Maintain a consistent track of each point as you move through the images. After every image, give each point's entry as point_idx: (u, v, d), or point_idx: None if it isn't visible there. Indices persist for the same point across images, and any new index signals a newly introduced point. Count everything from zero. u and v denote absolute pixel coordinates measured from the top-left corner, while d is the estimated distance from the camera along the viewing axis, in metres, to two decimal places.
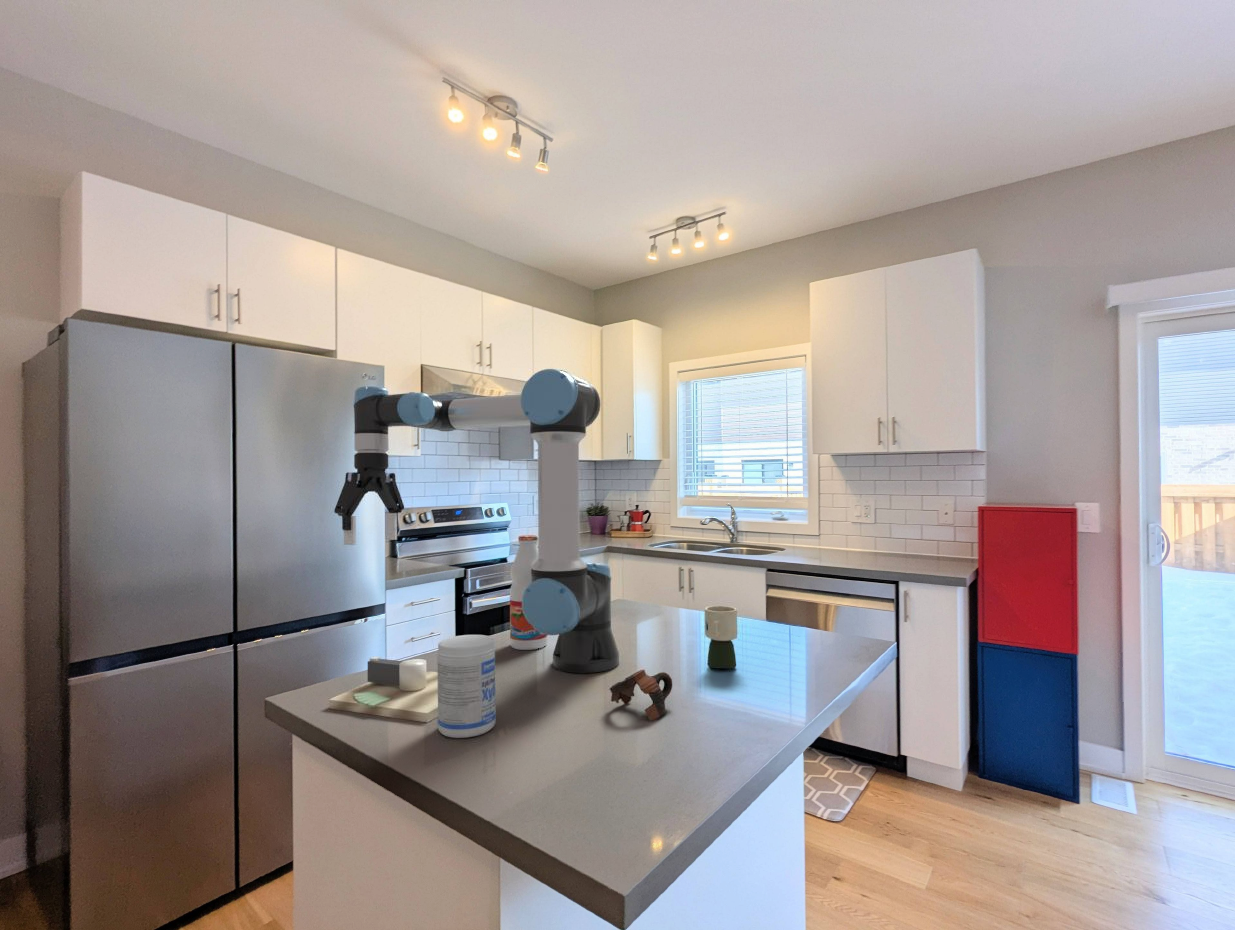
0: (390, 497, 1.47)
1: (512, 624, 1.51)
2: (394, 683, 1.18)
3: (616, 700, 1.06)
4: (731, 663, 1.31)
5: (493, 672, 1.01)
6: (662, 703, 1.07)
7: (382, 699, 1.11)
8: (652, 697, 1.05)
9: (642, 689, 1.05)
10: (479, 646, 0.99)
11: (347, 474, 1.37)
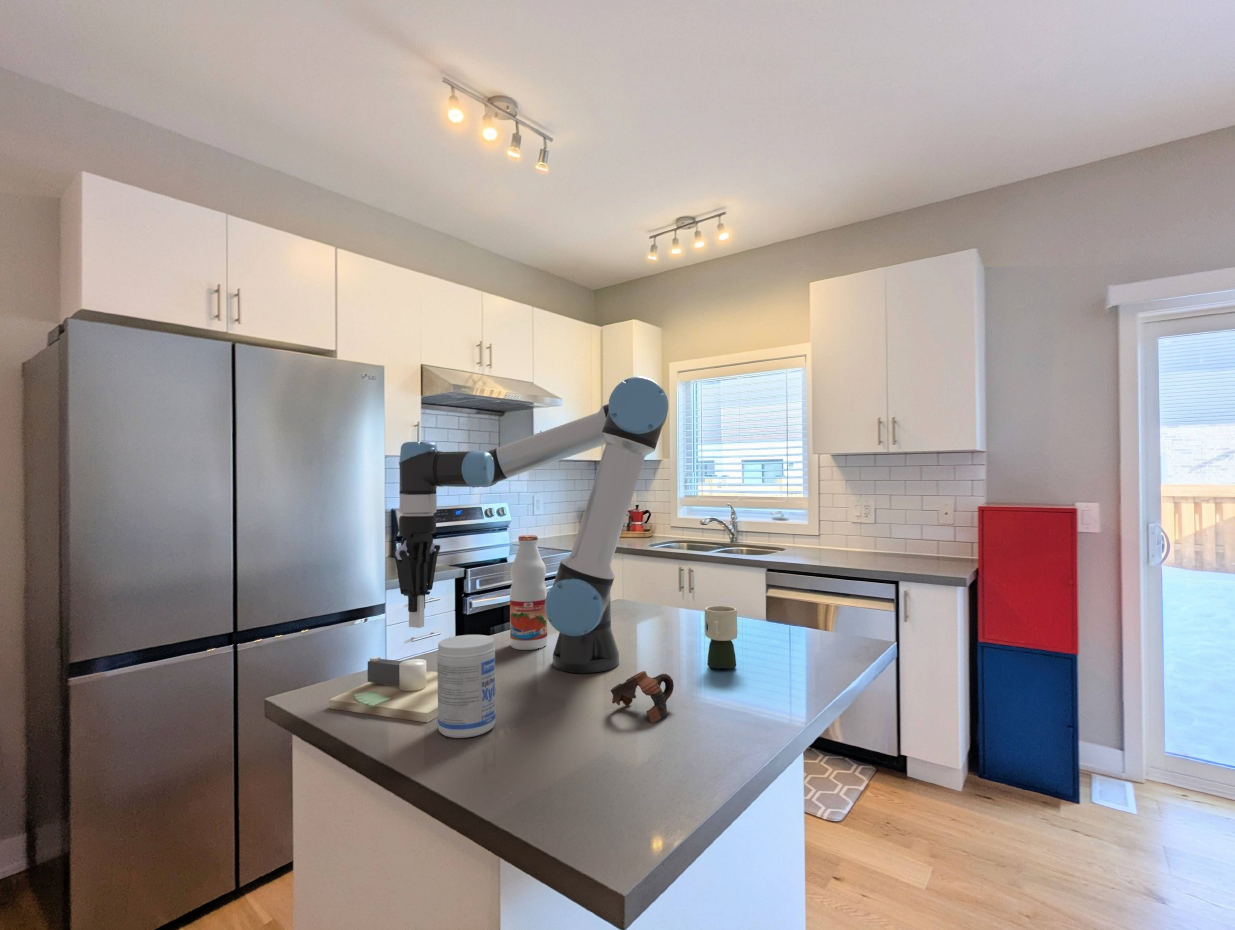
0: (425, 572, 1.28)
1: (512, 624, 1.51)
2: (394, 683, 1.18)
3: (617, 702, 1.05)
4: (731, 663, 1.31)
5: (493, 672, 1.01)
6: (664, 705, 1.06)
7: (382, 699, 1.11)
8: (654, 699, 1.04)
9: (644, 691, 1.04)
10: (479, 646, 0.99)
11: (394, 554, 1.22)
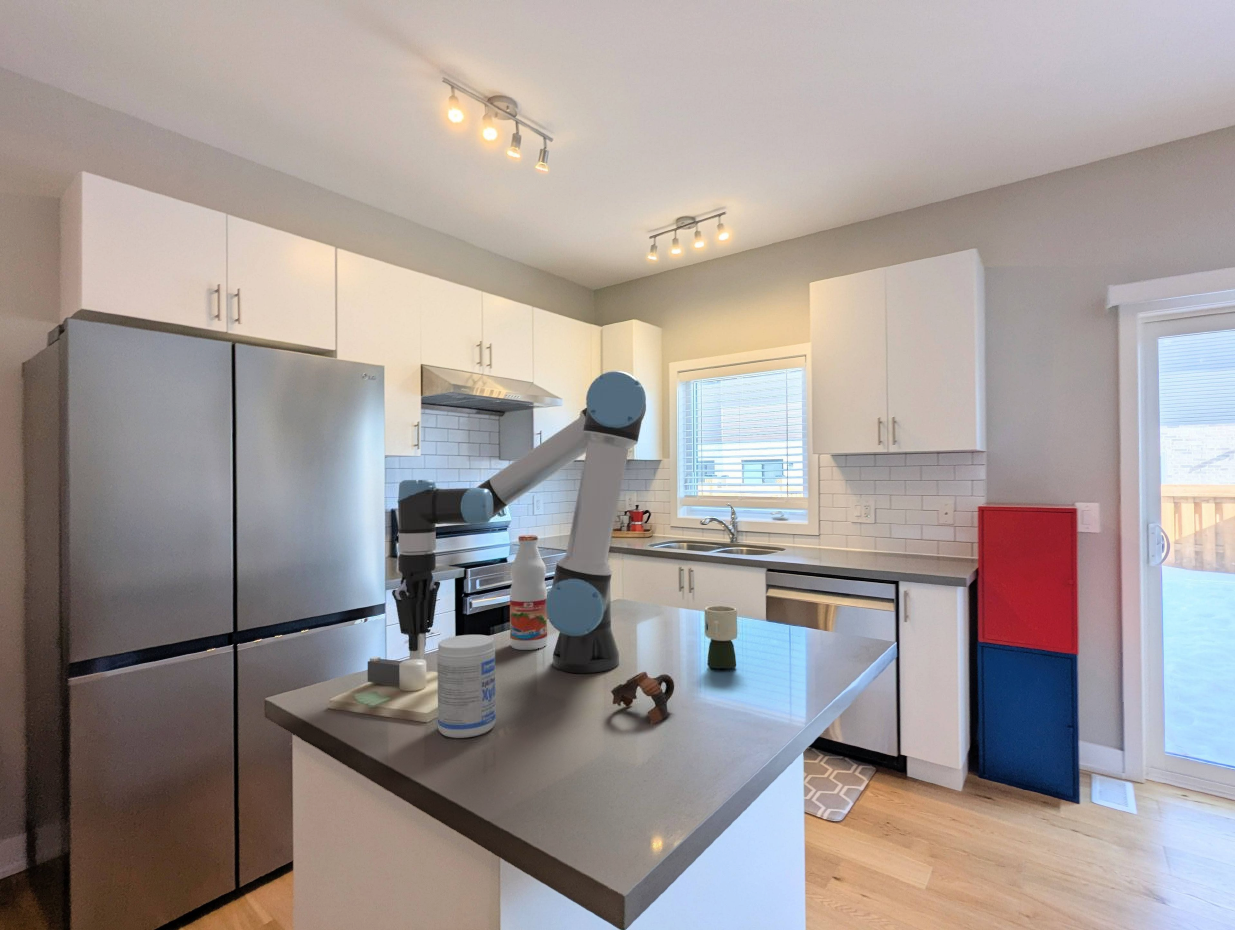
0: (426, 609, 1.28)
1: (512, 624, 1.51)
2: (394, 683, 1.18)
3: (618, 703, 1.04)
4: (731, 663, 1.31)
5: (493, 672, 1.01)
6: (664, 705, 1.05)
7: (382, 699, 1.11)
8: (654, 699, 1.04)
9: (644, 691, 1.04)
10: (479, 646, 0.99)
11: (394, 594, 1.22)
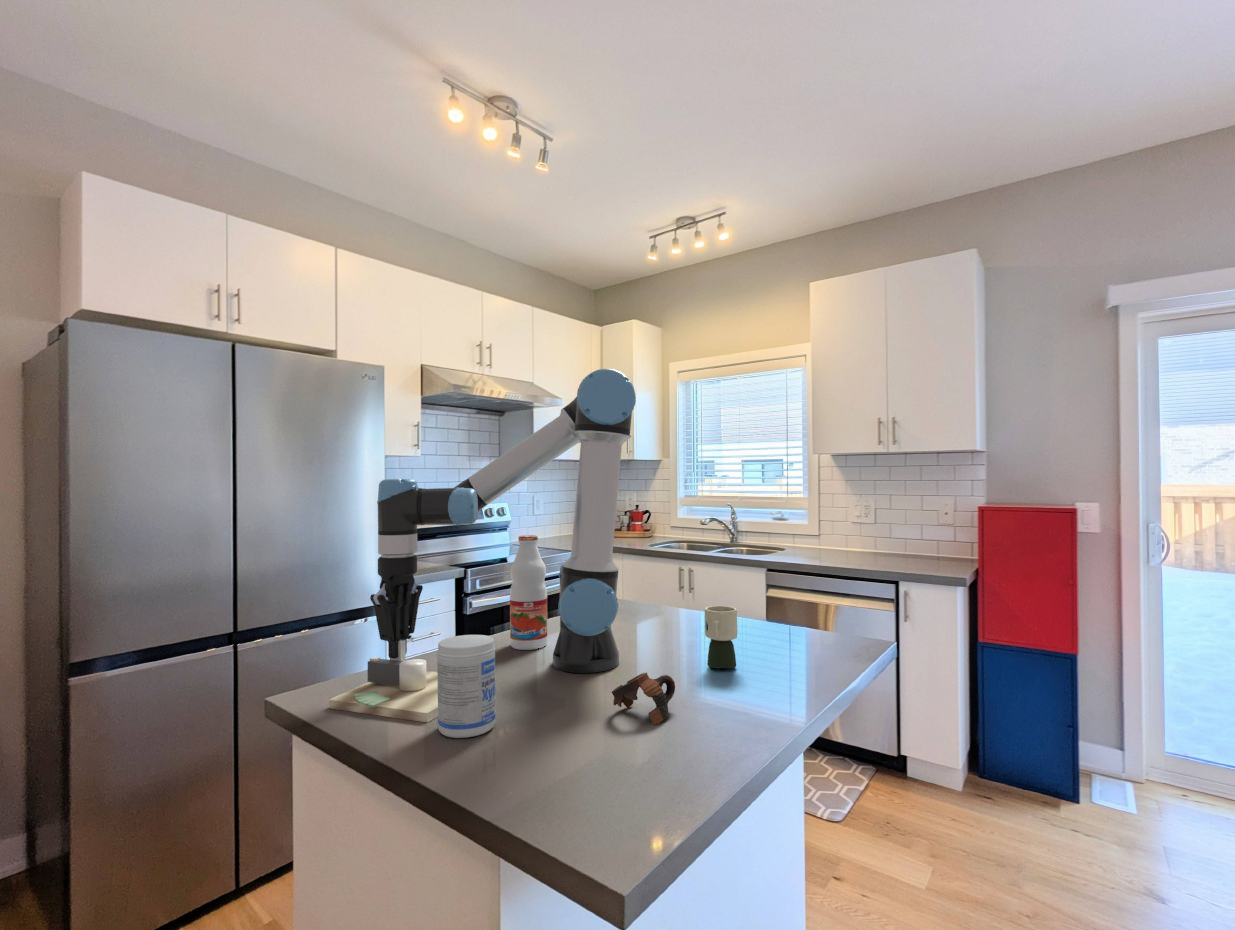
0: (407, 615, 1.22)
1: (512, 624, 1.51)
2: (394, 683, 1.18)
3: (619, 704, 1.04)
4: (731, 663, 1.31)
5: (493, 672, 1.01)
6: (665, 706, 1.05)
7: (382, 699, 1.11)
8: (655, 700, 1.03)
9: (645, 692, 1.03)
10: (479, 646, 0.99)
11: (372, 599, 1.16)
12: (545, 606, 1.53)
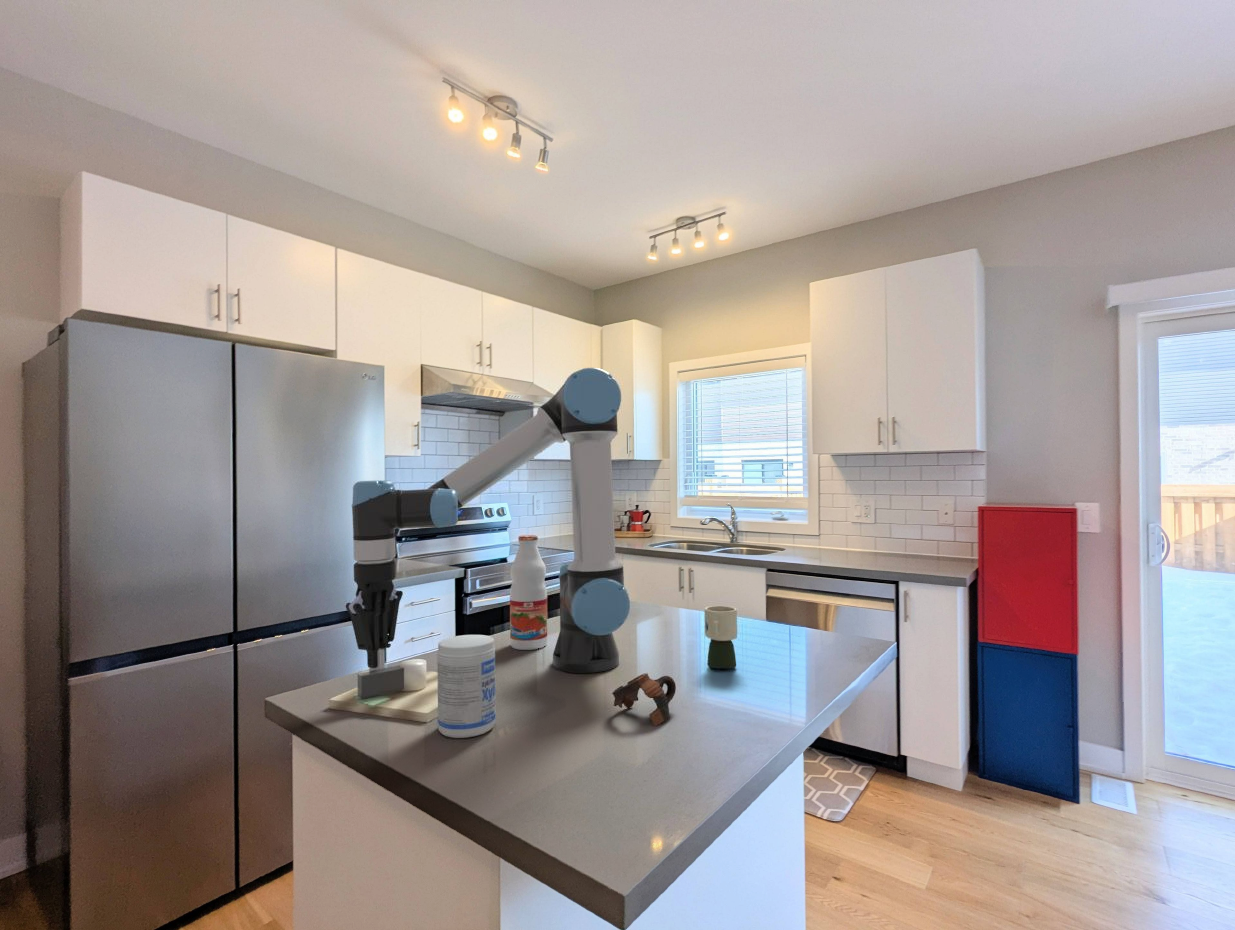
0: (385, 622, 1.17)
1: (512, 624, 1.51)
2: (397, 688, 1.15)
3: (619, 705, 1.03)
4: (731, 663, 1.31)
5: (493, 672, 1.01)
6: (666, 707, 1.05)
7: (382, 699, 1.11)
8: (656, 701, 1.03)
9: (646, 693, 1.03)
10: (479, 646, 0.99)
11: (348, 608, 1.11)
12: (545, 606, 1.53)
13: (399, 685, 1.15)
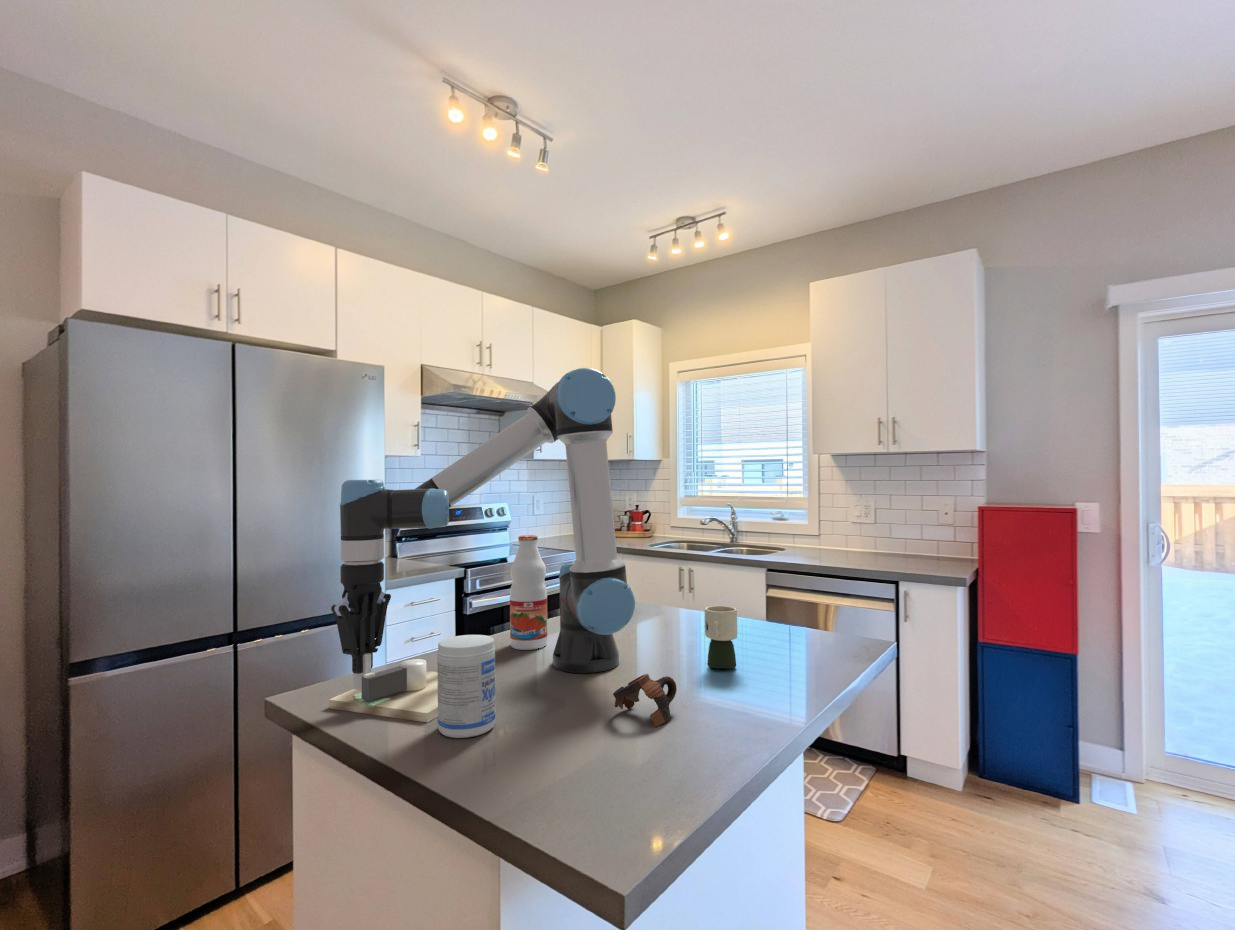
0: (372, 626, 1.13)
1: (512, 624, 1.51)
2: (401, 689, 1.14)
3: (620, 706, 1.03)
4: (731, 663, 1.31)
5: (493, 672, 1.01)
6: (667, 708, 1.04)
7: (382, 699, 1.11)
8: (657, 702, 1.03)
9: (647, 694, 1.03)
10: (479, 646, 0.99)
11: (333, 610, 1.07)
12: (545, 606, 1.53)
13: (402, 685, 1.15)
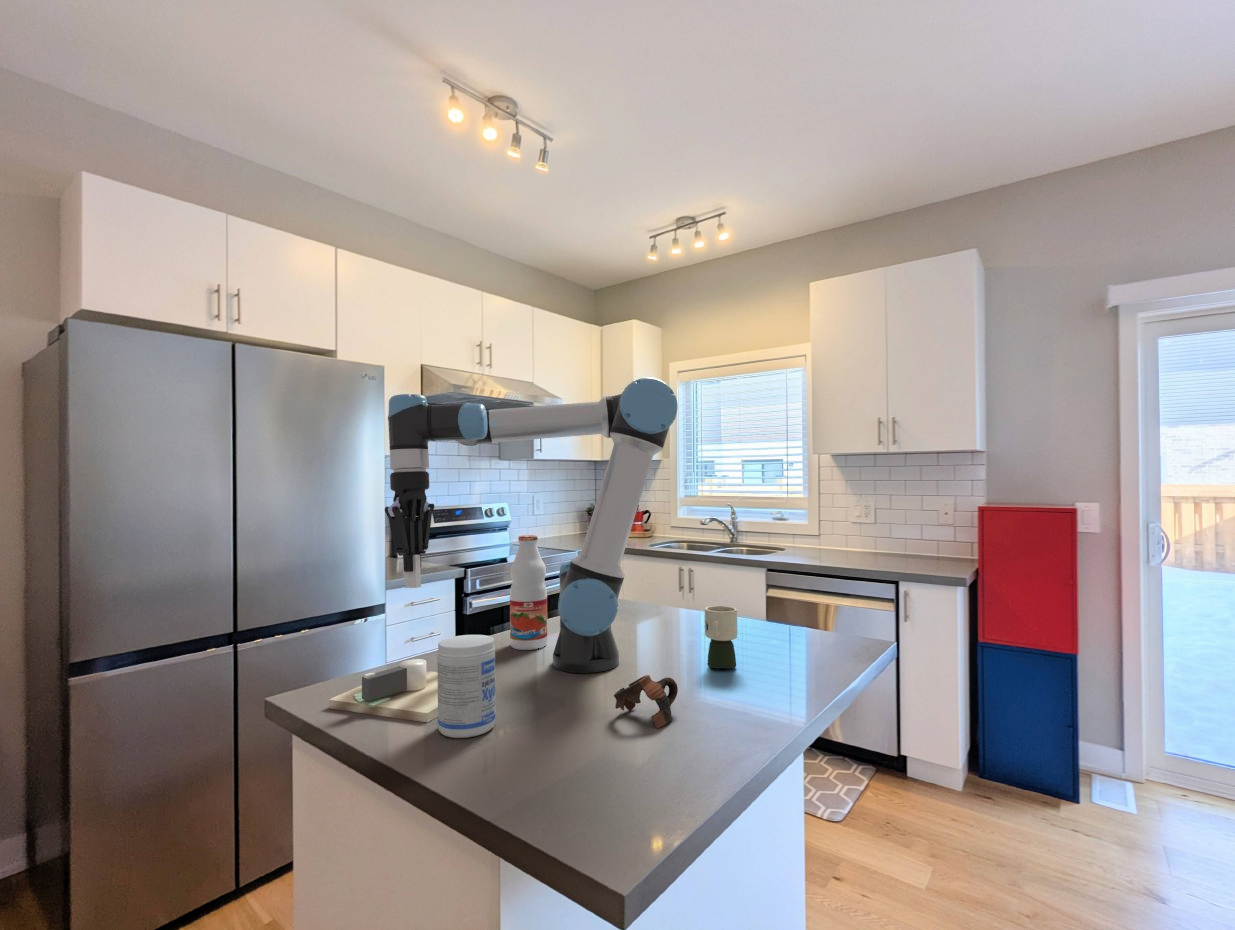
0: (420, 530, 1.23)
1: (512, 624, 1.51)
2: (401, 689, 1.14)
3: (621, 707, 1.02)
4: (731, 663, 1.31)
5: (493, 672, 1.01)
6: (668, 709, 1.04)
7: (382, 699, 1.11)
8: (659, 703, 1.02)
9: (648, 695, 1.02)
10: (479, 646, 0.99)
11: (387, 510, 1.17)
12: (545, 606, 1.53)
13: (402, 685, 1.15)
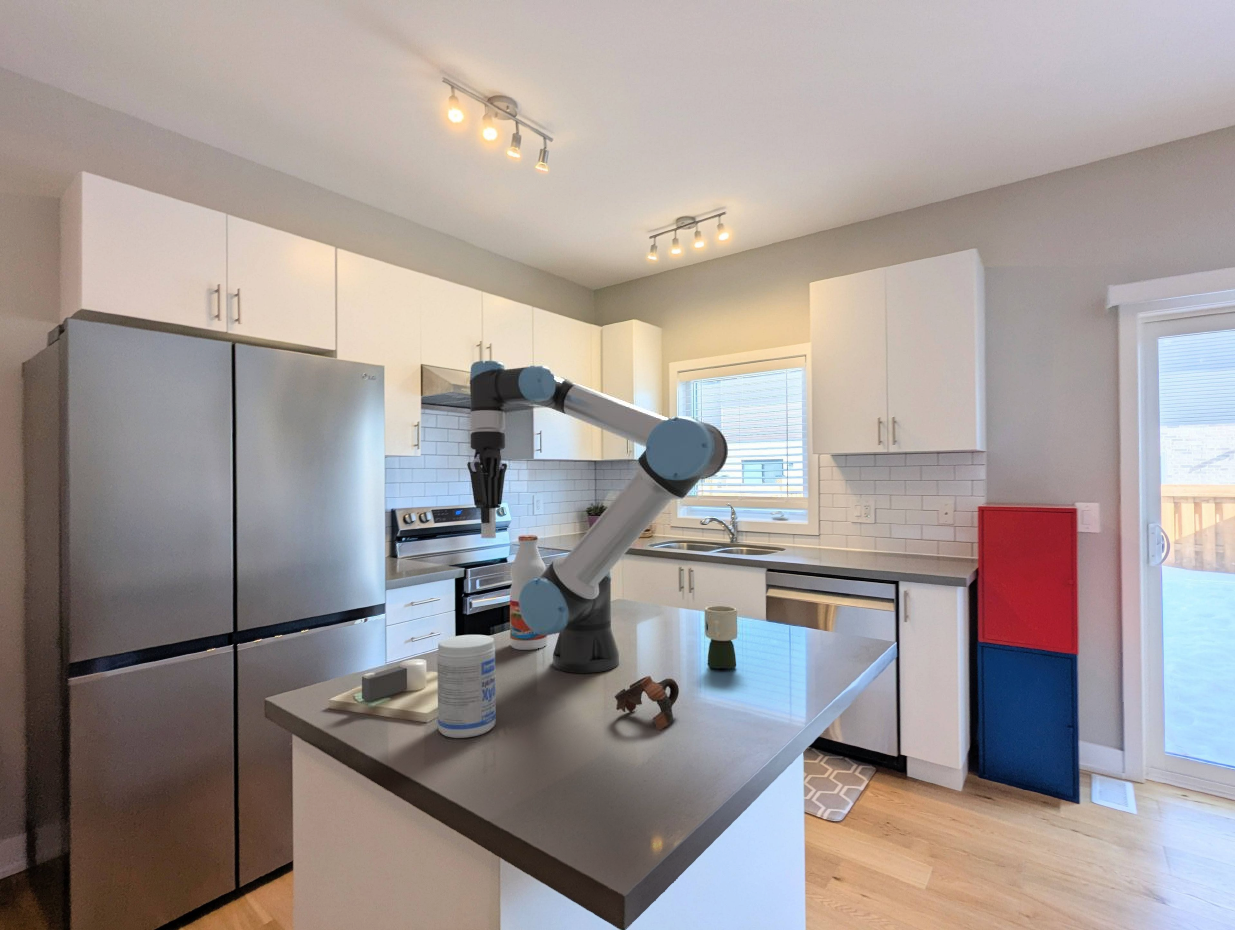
0: (496, 486, 1.35)
1: (512, 624, 1.51)
2: (401, 689, 1.14)
3: (623, 709, 1.02)
4: (731, 663, 1.31)
5: (493, 672, 1.01)
6: (670, 711, 1.03)
7: (382, 699, 1.11)
8: (660, 705, 1.01)
9: (650, 697, 1.01)
10: (479, 646, 0.99)
11: (469, 465, 1.28)
12: None
13: (402, 685, 1.15)
